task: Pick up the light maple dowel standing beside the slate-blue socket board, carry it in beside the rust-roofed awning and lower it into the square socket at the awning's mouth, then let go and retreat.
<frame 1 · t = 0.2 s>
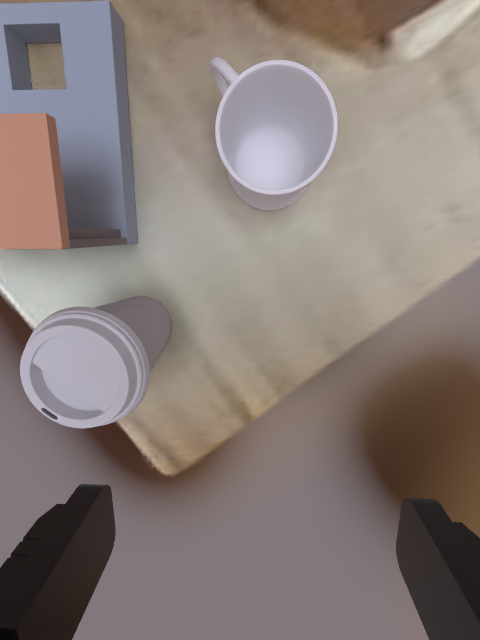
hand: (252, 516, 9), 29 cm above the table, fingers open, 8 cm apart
socket board: (62, 141, 34), on the table
coffee cup: (143, 324, 39), on the table
mug: (261, 151, 34), on the table
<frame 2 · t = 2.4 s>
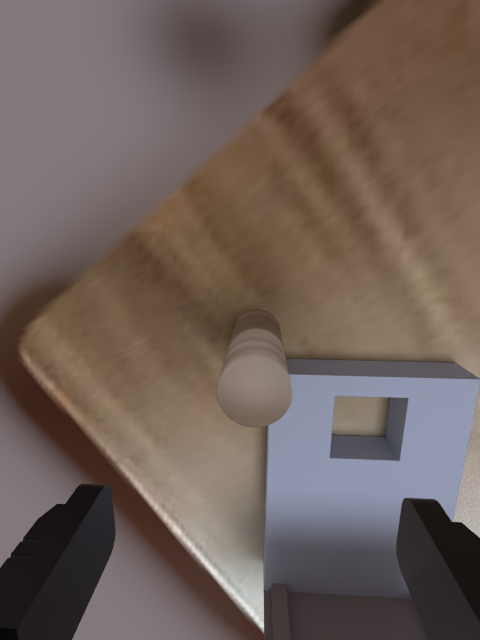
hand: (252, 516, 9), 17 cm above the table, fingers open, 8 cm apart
socket board: (349, 472, 29), on the table
peg: (256, 333, 26), on the table
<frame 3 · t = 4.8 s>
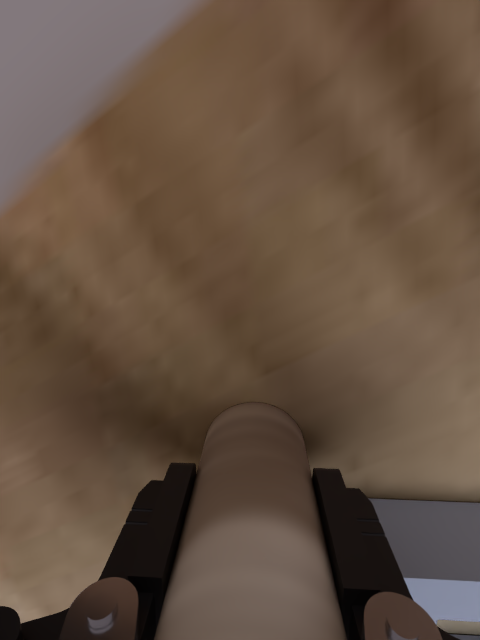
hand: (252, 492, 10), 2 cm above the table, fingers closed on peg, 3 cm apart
peg: (254, 447, 12), on the table, touching gripper
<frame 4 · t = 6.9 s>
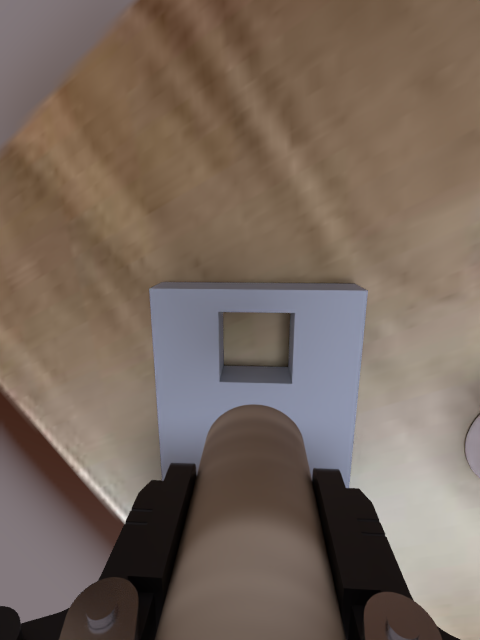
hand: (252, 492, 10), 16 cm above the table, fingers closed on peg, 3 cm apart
socket board: (255, 407, 27), on the table
peg: (254, 449, 12), point 14 cm above the table, touching gripper
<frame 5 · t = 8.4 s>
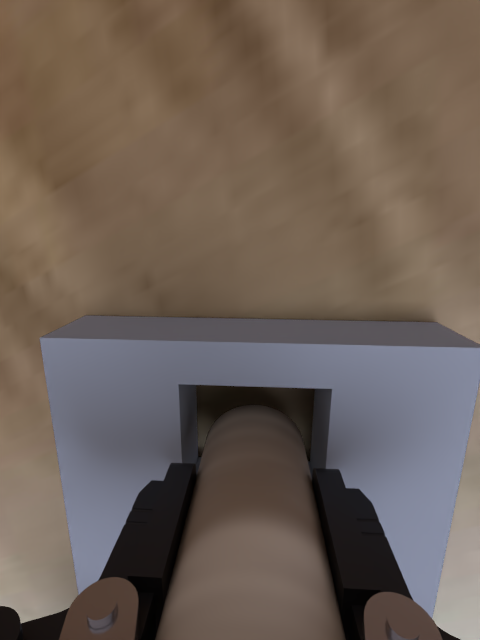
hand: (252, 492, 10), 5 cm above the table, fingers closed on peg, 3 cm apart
socket board: (252, 523, 16), on the table
peg: (254, 449, 12), point 2 cm above the table, touching gripper
when the fingers open (4 cm above the table, at t = 9.5 s): peg drops 2 cm, resting in socket board.
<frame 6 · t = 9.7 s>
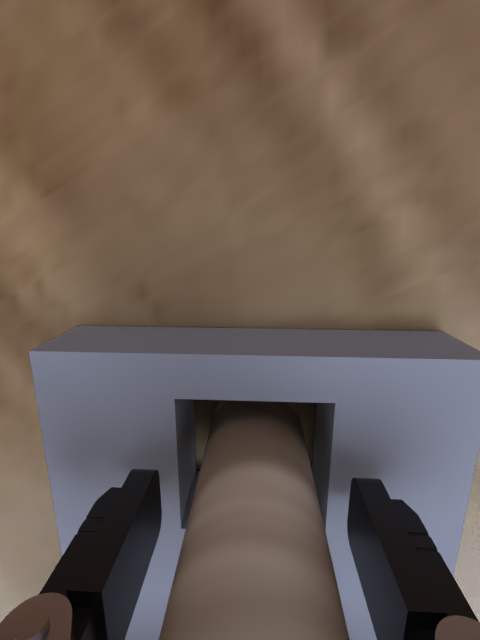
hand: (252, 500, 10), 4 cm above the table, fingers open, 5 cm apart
socket board: (252, 538, 16), on the table
peg: (256, 422, 14), resting in socket board
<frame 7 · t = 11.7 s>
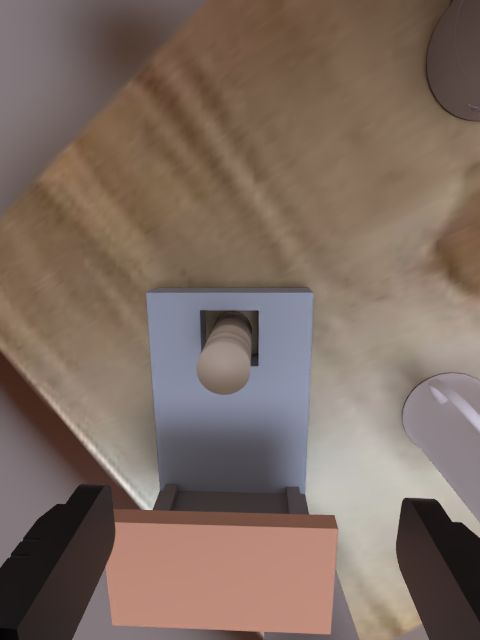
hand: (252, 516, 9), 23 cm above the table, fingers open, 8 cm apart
socket board: (232, 388, 34), on the table
coffee cup: (297, 547, 38), on the table
mug: (437, 399, 33), on the table
peg: (232, 330, 32), resting in socket board
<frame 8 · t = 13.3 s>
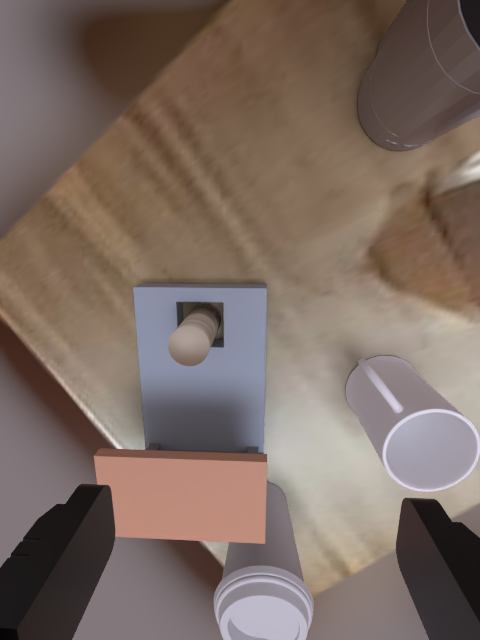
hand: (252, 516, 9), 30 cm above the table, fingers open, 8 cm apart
socket board: (205, 366, 41), on the table
coffee cup: (261, 500, 45), on the table
mug: (374, 377, 40), on the table
peg: (205, 318, 39), resting in socket board
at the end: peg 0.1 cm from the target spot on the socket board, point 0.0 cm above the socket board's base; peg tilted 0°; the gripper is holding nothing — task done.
